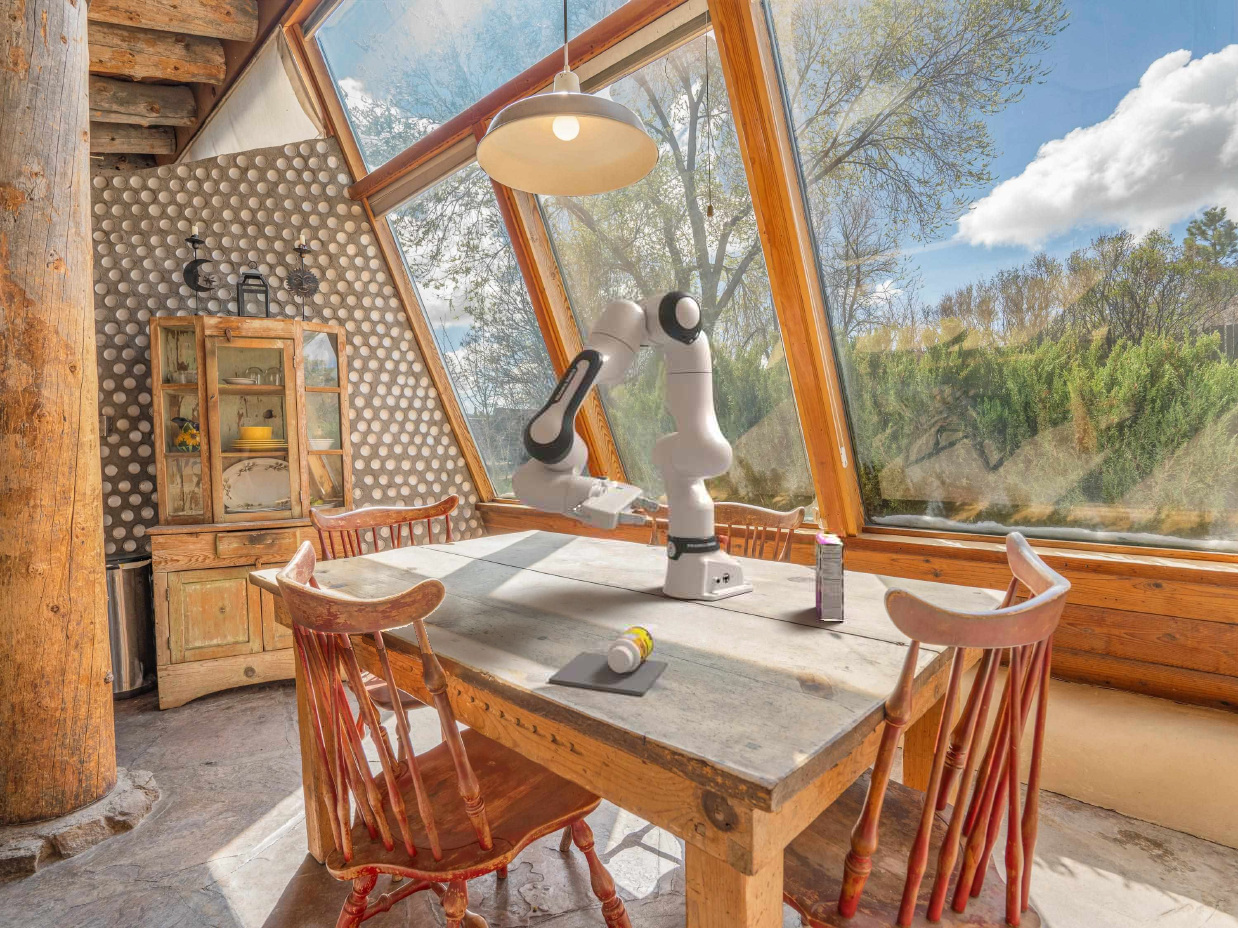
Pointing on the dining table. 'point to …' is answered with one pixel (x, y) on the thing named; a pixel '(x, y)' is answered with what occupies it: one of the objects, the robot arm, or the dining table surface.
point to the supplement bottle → (630, 649)
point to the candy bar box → (829, 576)
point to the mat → (608, 674)
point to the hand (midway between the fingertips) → (651, 513)
